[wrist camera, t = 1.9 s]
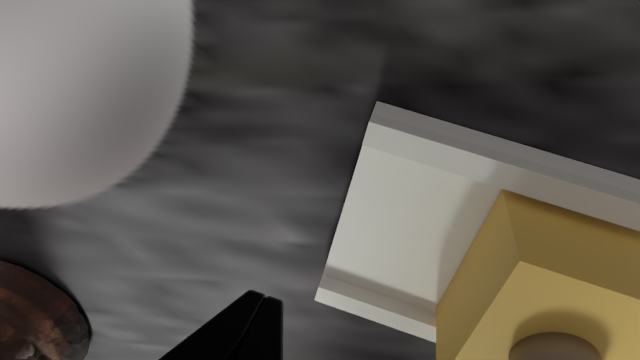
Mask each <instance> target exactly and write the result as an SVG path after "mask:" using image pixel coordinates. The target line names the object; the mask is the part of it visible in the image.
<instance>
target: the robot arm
mask: <svg viewBox="0 0 640 360" xmlns="http://www.w3.org/2000/svg"><path fill="white" fill-rule="evenodd" d="M159 360H283V301H282V300H279V299H276V298H274V297H271V296H267V297H266V296H265V295H264V294H262V293H259V292H257V291H254V290H249V291H247V292H246V293H244V294H243V295H242V296H241V297H239V298H238V299H237V300H235V301H234V302H233V303H231V304H230V305H229V306H228V307H226V308H225V309H224V310H222V311H221V312H220V313H218V314H217V315H216V316H215V317H213V318H212V319H211V320H209V321H208V322H207V323H205V324H204V325H203V326H201V327H200V328H199V329H198V330H196V331H195V332H194V333H192V334H191V335H190V336H188V337H187V338H186V339H185V340H183V341H182V342H181V343H179V344H178V345H177V346H175V347H174V348H173V349H172V350H170V351H169V352H168V353H166V354H165V355H164V356H162V357H161V358H160V359H159Z"/></svg>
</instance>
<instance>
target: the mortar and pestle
mask: <svg viewBox="0 0 640 360" xmlns="http://www.w3.org/2000/svg"><path fill="white" fill-rule="evenodd" d="M88 348H89V334H88V326H87V324H86V321H85V319H84V317H83V315H81V314H80V313H79V311H78V308H77V306H76V304H75V303H74V302H73V301H72V300H71V299H70V298H69V297H68V296H67V295H66V294H65V293H64V292H63V291H62V290H60V289H58V288H56V287H55V286H54V285H52V284H51V283H50V282H49V281H47V280H46V279H44V278H42V277H41V276H39V275H37V274H35V273H33V272H30V271H28V270H26V269H24V268H22V267H20V266H17V265H13V264H10V263H7V262H3V261H0V360H83V359H84V358H85V356H86V355H87V352H88Z"/></svg>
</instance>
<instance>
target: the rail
mask: <svg viewBox="0 0 640 360" xmlns="http://www.w3.org/2000/svg"><path fill="white" fill-rule="evenodd" d="M502 189H504V190H507V191H511V192H514V193H517V194H520V195H523V196H527V197H530V198H533V199H536V200H540V201H543V202H546V203H549V204H552V205H556V206H559V207H562V208H565V209H569V210H572V211H575V212H578V213H581V214H585V215H588V216H591V217H594V218H598V219H601V220H604V221H607V222H610V223H614V224H617V225H620V226H623V227H627V228H630V229H633V230H636V231H639V232H640V179H636V178H633V177H630V176H626V175H623V174H620V173H616V172H613V171H610V170H606V169H603V168H600V167H596V166H593V165H590V164H586V163H583V162H580V161H576V160H573V159H570V158H566V157H563V156H559V155H556V154H553V153H549V152H546V151H543V150H539V149H536V148H533V147H529V146H526V145H523V144H519V143H516V142H513V141H509V140H506V139H503V138H499V137H496V136H493V135H489V134H486V133H483V132H479V131H476V130H473V129H469V128H466V127H462V126H459V125H456V124H452V123H449V122H446V121H442V120H439V119H436V118H432V117H429V116H426V115H422V114H419V113H416V112H412V111H409V110H406V109H402V108H399V107H396V106H392V105H389V104H386V103H382V102H379V101H377V102H376V104H375V107H374V110H373V112H372V115H371V118H370V120H369V123H368V127H367V130H366V133H365V136H364V140H363V143H362V148H361V151H360V155H359V158H358V161H357V164H356V168H355V171H354V174H353V177H352V181H351V184H350V187H349V190H348V194H347V197H346V200H345V203H344V207H343V210H342V213H341V216H340V220H339V223H338V226H337V229H336V233H335V236H334V239H333V243H332V246H331V249H330V252H329V256H328V259H327V262H326V265H325V269H324V272H323V275H322V278H321V281H320V284H319V287H318V290H317V293H316V296H315V301H318V302H320V303H323V304H326V305H329V306H332V307H335V308H338V309H340V310H343V311H346V312H349V313H352V314H355V315H358V316H360V317H363V318H366V319H369V320H372V321H375V322H377V323H380V324H383V325H386V326H389V327H392V328H395V329H397V330H400V331H403V332H406V333H409V334H412V335H415V336H417V337H420V338H423V339H426V340H429V341H432V342H435V343H436V307H437V306H438V304H439V302H440V300H441V298H442V297H443V295H444V293H445V291H446V289H447V288H448V286H449V284H450V282H451V280H452V279H453V277H454V275H455V273H456V271H457V270H458V268H459V266H460V264H461V262H462V261H463V259H464V257H465V255H466V253H467V252H468V250H469V248H470V246H471V244H472V243H473V241H474V239H475V237H476V235H477V234H478V232H479V230H480V228H481V226H482V224H483V223H484V221H485V219H486V217H487V215H488V214H489V212H490V210H491V208H492V206H493V205H494V203H495V201H496V199H497V197H498V196H499V194H500V192H501V190H502Z"/></svg>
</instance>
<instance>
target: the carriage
mask: <svg viewBox="0 0 640 360" xmlns="http://www.w3.org/2000/svg"><path fill="white" fill-rule="evenodd" d="M436 360H640V232H639V231H636V230H633V229H630V228H627V227H623V226H620V225H617V224H614V223H610V222H607V221H604V220H601V219H598V218H594V217H591V216H588V215H585V214H581V213H578V212H575V211H572V210H569V209H565V208H562V207H559V206H556V205H552V204H549V203H546V202H543V201H540V200H536V199H533V198H530V197H527V196H523V195H520V194H517V193H514V192H511V191H507V190H504V189H502V190H501V192H500V194H499V196H498V197H497V199H496V201H495V203H494V205H493V206H492V208H491V210H490V212H489V214H488V215H487V217H486V219H485V221H484V223H483V224H482V226H481V228H480V230H479V232H478V234H477V235H476V237H475V239H474V241H473V243H472V244H471V246H470V248H469V250H468V252H467V253H466V255H465V257H464V259H463V261H462V262H461V264H460V266H459V268H458V270H457V271H456V273H455V275H454V277H453V279H452V280H451V282H450V284H449V286H448V288H447V289H446V291H445V293H444V295H443V297H442V298H441V300H440V302H439V304H438V306H437V307H436Z"/></svg>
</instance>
